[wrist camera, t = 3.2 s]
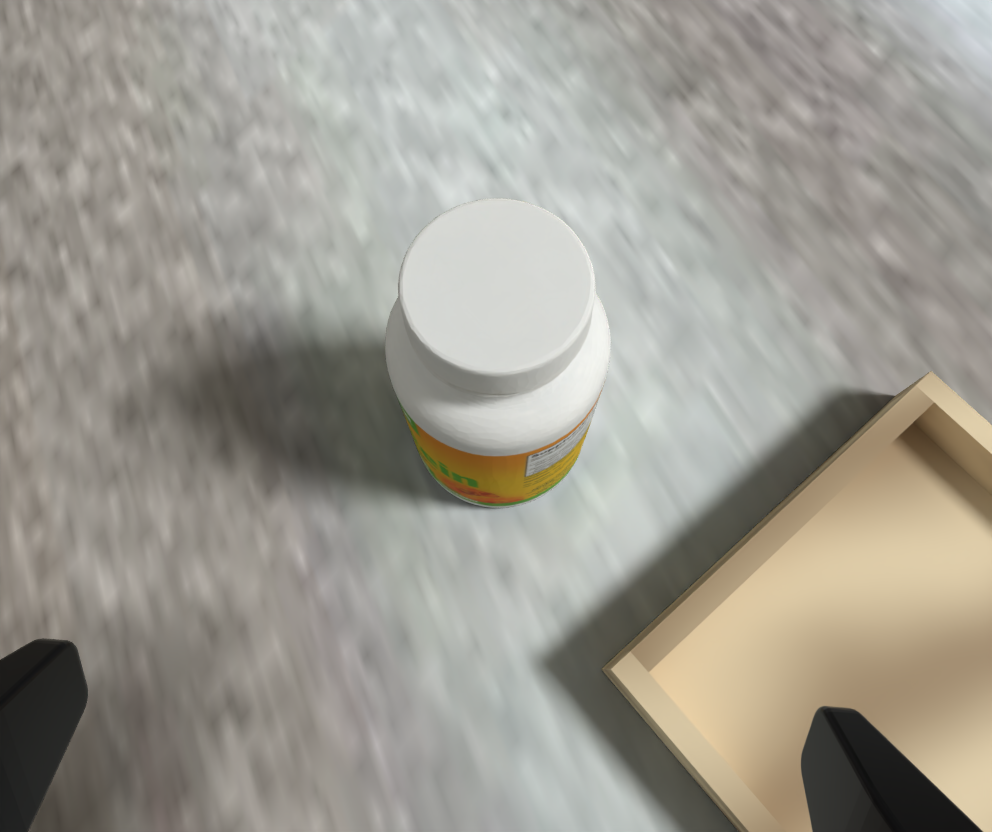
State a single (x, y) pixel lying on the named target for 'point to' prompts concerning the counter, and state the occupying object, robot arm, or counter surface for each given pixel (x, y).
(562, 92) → the counter surface
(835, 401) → the counter surface
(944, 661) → the tray
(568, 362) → the supplement bottle
